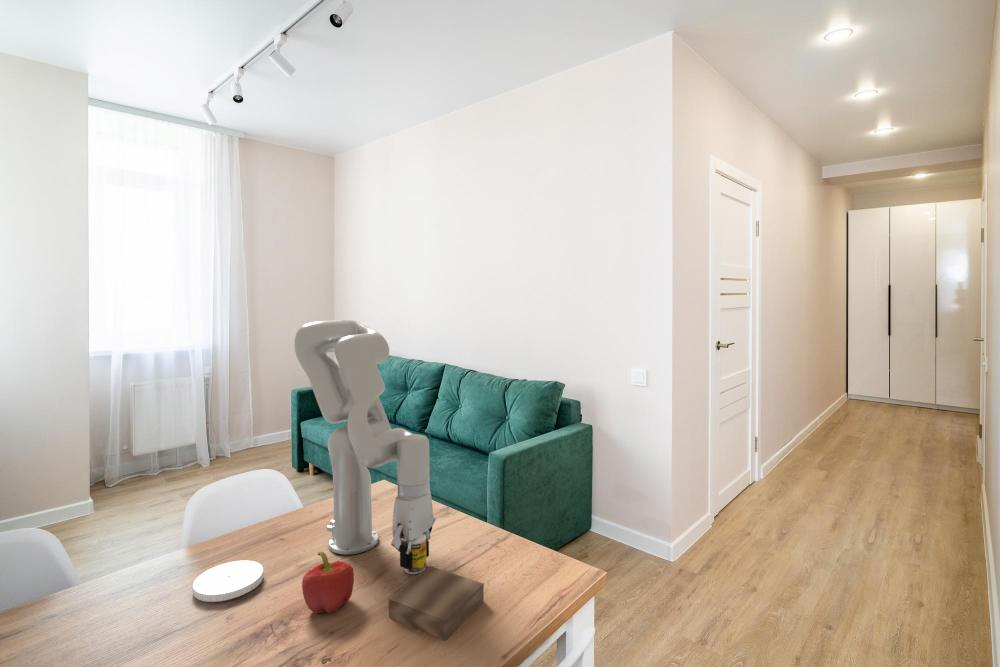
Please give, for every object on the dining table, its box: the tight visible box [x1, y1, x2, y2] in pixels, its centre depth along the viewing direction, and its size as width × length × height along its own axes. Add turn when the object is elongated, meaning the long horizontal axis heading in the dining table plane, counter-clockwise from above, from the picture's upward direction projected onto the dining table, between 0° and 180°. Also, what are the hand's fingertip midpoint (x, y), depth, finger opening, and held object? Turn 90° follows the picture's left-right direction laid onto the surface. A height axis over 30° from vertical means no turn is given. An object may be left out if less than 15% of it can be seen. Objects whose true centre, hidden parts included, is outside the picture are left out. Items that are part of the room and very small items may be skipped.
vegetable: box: [301, 551, 355, 614], centre depth 107 cm, size 11×10×10 cm
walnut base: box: [388, 566, 485, 641], centre depth 106 cm, size 14×14×4 cm
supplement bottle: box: [402, 533, 427, 575], centre depth 121 cm, size 6×6×10 cm
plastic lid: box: [192, 559, 264, 603], centre depth 114 cm, size 14×14×2 cm
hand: (414, 560), depth 121 cm, fingers closed on supplement bottle, 5 cm apart
